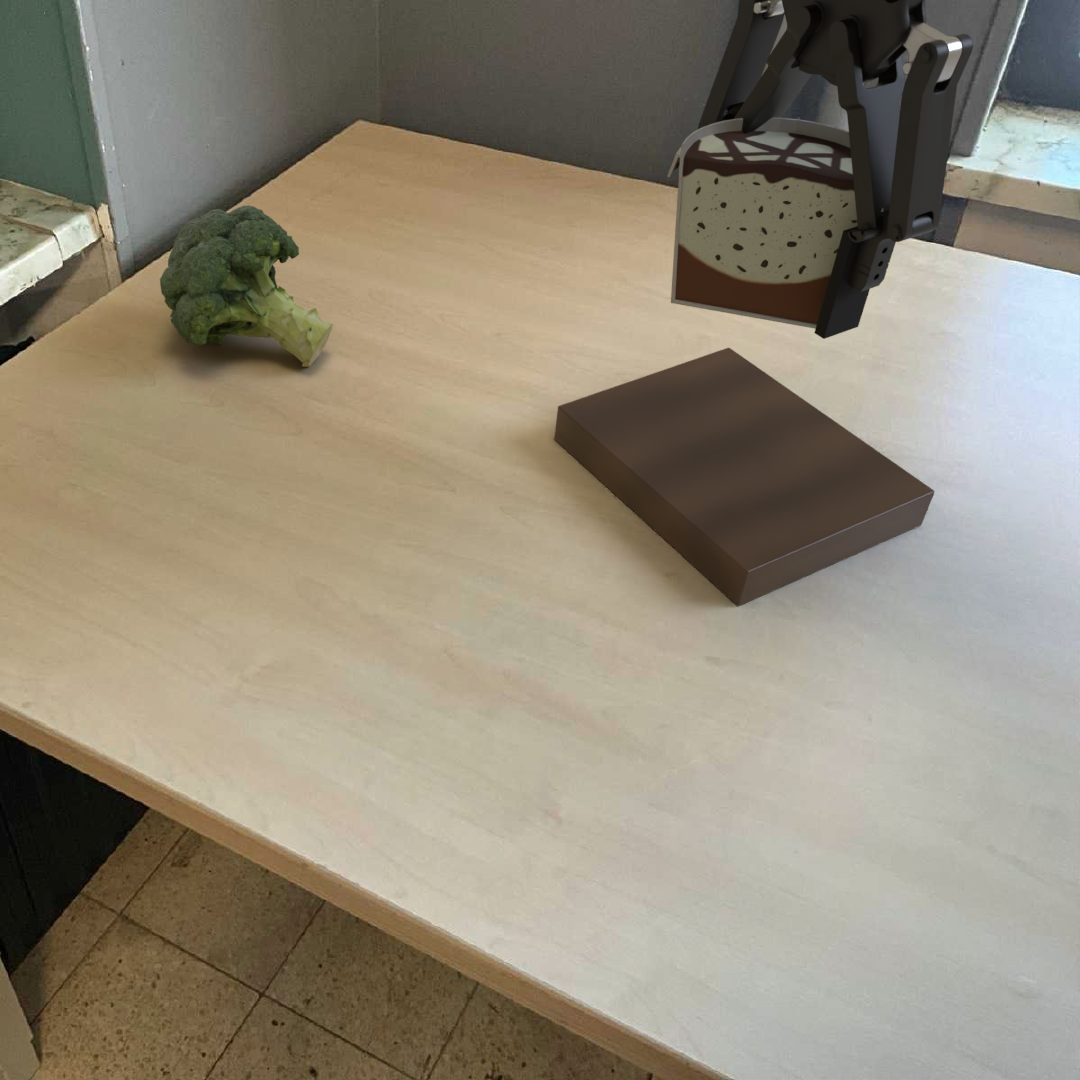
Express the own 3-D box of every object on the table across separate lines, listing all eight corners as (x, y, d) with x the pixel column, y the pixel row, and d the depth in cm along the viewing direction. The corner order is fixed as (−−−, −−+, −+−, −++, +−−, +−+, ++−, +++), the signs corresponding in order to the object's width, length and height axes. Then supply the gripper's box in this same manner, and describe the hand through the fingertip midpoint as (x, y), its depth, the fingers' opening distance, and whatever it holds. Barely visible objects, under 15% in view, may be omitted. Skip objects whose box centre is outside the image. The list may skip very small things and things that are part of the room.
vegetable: (262, 399, 87) (109, 276, 87) (283, 421, 99) (150, 313, 100) (364, 272, 86) (210, 150, 87) (372, 310, 99) (238, 203, 100)
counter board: (921, 525, 78) (935, 491, 76) (738, 606, 73) (747, 572, 71) (721, 379, 91) (729, 346, 89) (553, 439, 86) (557, 405, 84)
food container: (862, 286, 73) (911, 129, 66) (855, 335, 68) (905, 174, 62) (665, 253, 76) (692, 101, 70) (646, 298, 72) (672, 141, 65)
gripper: (676, -152, 62) (620, 235, 77) (1017, -52, 48) (866, 399, 63) (783, -168, 65) (708, 209, 80) (1137, -78, 50) (964, 362, 65)
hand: (778, 293), depth 71 cm, fingers closed on food container, 9 cm apart
